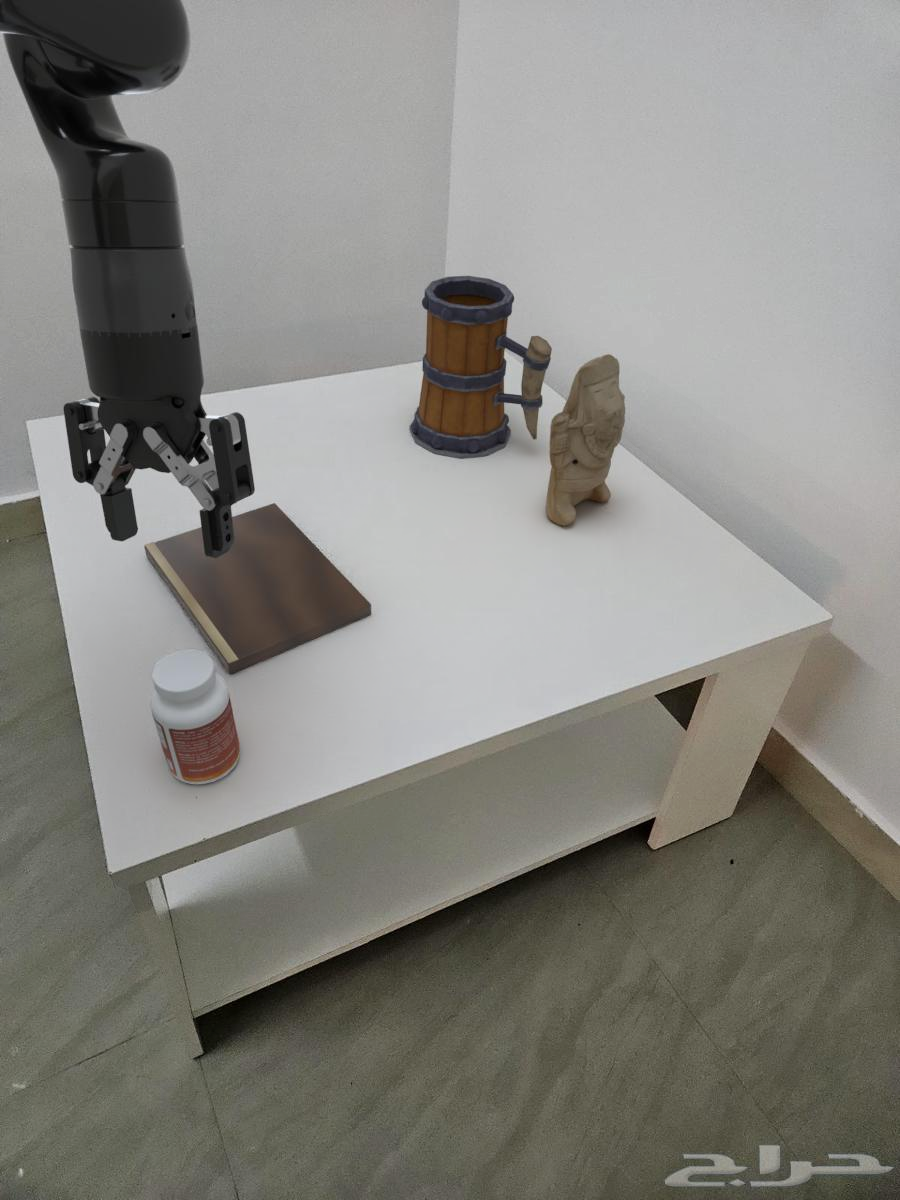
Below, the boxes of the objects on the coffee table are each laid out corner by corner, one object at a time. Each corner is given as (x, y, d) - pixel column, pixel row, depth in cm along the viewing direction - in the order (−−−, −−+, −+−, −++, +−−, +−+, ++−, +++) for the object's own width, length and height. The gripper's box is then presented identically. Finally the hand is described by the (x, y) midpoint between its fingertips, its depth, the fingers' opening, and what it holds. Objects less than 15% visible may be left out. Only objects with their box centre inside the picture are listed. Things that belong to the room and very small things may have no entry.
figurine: (561, 541, 97) (588, 386, 84) (519, 513, 102) (538, 360, 88) (630, 504, 104) (665, 356, 91) (588, 479, 108) (615, 333, 95)
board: (229, 675, 79) (227, 663, 77) (146, 556, 92) (143, 544, 91) (371, 614, 86) (371, 603, 85) (275, 512, 99) (274, 501, 98)
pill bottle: (255, 745, 72) (240, 656, 65) (213, 797, 68) (192, 709, 61) (196, 721, 74) (175, 632, 67) (152, 771, 70) (124, 682, 62)
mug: (558, 435, 117) (579, 295, 104) (513, 481, 107) (530, 333, 94) (441, 398, 123) (448, 263, 110) (389, 438, 114) (389, 295, 101)
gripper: (12, 320, 54) (59, 549, 61) (191, 333, 49) (221, 579, 56) (95, 310, 60) (129, 518, 67) (260, 320, 56) (279, 542, 63)
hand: (171, 545), depth 62 cm, fingers open, 8 cm apart
